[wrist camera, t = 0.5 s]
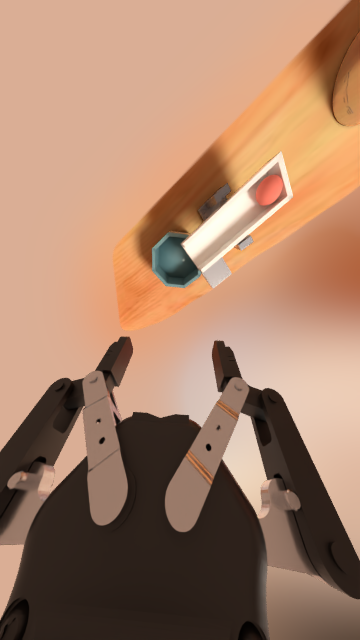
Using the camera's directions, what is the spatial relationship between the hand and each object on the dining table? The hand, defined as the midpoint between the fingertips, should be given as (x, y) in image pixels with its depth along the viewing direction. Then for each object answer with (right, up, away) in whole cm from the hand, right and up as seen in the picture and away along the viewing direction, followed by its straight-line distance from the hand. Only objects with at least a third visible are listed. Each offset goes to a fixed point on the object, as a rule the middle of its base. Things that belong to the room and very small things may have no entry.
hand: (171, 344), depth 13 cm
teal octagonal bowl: (0, +17, +19) cm, 26 cm away
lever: (+9, +18, +12) cm, 23 cm away
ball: (+13, +20, +5) cm, 24 cm away
